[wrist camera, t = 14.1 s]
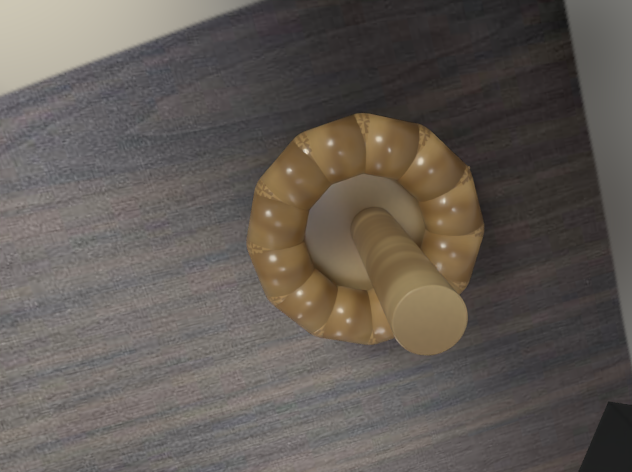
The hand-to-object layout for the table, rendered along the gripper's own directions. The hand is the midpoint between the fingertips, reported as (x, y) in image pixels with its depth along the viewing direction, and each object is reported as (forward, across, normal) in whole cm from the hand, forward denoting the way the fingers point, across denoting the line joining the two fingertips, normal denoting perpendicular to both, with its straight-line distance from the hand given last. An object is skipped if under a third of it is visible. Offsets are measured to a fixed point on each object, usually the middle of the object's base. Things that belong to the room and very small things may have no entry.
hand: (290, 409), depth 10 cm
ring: (+17, +4, 0) cm, 17 cm away
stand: (+20, +5, 0) cm, 20 cm away
